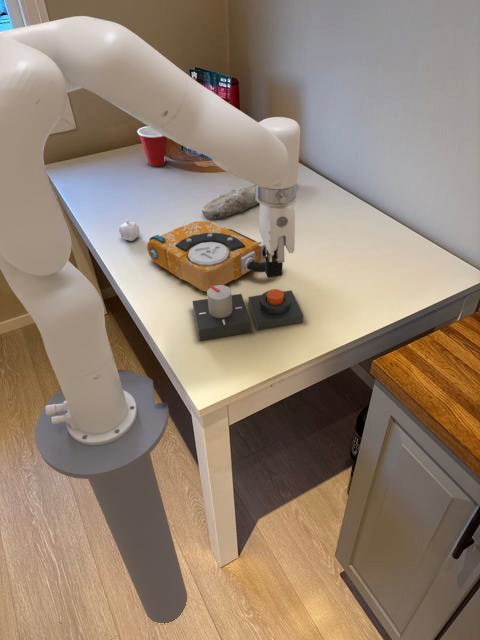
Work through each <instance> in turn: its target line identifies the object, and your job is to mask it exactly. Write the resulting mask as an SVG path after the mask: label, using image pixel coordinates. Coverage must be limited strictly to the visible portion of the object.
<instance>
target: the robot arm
mask: <svg viewBox="0 0 480 640" xmlns="http://www.w3.org/2000/svg"><path fill="white" fill-rule="evenodd" d="M81 89H84V90H87V91H89V92H91V93H93V94H95V95H97V96H98V97H100V98H101V99H104V100H105V101H107V102H109V103H110V104H112V105H114V106H115V107H117V108H118V109H120V110H122V111H123V112H125V113H127V114H128V115H130V116H132V117H133V118H135V119H136V120H138V121H139V122H142V123H143V124H145V125H146V126H149V127H151V128H153V129H154V130H156V131H157V132H159V133H161V134H162V135H164V136H166V137H167V139H169V140H171V141H173V142H175V143H176V144H179V145H180V146H183V147H184V148H187V149H188V150H191V151H194V152H196V153H199V154H201V155H204V156H206V157H208V158H210V159H212V162H213V163H214V164H215V165H216V166H217V167H219V168H220V169H221V170H222V171H225V172H227V173H229V174H231V175H234V176H236V177H238V178H240V179H242V180H245V181H246V182H248V183H251V184H252V185H256V201H257V202H258V204H259V209H258V210H259V212H258V213H259V214H258V215H259V216H258V226H259V234H260V237H261V240H262V242H264V244H265V251H266V256H268V257H265V259H264V262H265V272H264V273H265V276H266V277H267V278H269V279H270V278H275V277H277V278H278V277H282V276H283V263H285V248H286V250H287V252H288V254H293V253H294V252H295V245H296V243H295V242H296V241H295V240H296V239H295V238H296V237H295V236H296V235H295V234H296V233H295V232H296V224H295V223H296V221H295V205H294V203H295V202H296V201H297V198H298V197H297V194H298V193H297V192H298V181H299V179H298V178H299V163H300V162H299V161H300V147H301V127H300V125H299V123H298V122H297V121H296V120H295V119H294V118H293V119H292V118H289V117H285V116H272V117H267V118H264V119H263V120H260V121H257V120H255V119H254V118H252V117H251V116H249V115H248V114H246V113H244V111H241V110H240V109H238V108H237V107H235V106H234V105H233V104H230V103H229V102H228V101H226V100H224V99H223V98H222V97H220V96H219V95H218V94H216V93H215V92H213V91H212V90H211V89H208V88H207V87H205V86H204V85H202V84H201V83H199V82H198V81H197V80H195V79H194V78H193V77H191V76H190V75H189V74H187V73H186V72H185V71H183V70H182V69H181V68H179V67H178V66H176V65H175V64H174V63H173V62H172V61H170V60H169V59H168V58H167V57H166V56H164V55H163V54H162V53H160V52H159V51H158V50H157V49H155V48H154V47H152V45H150V44H149V43H148V42H146V41H145V40H144V39H143V38H141V37H140V36H138V35H137V33H135V32H133V31H131V29H129V28H127V27H126V26H124V25H122V24H120V23H118V22H115V21H110V20H106V19H101V18H97V17H92V16H87V15H77V16H76V15H75V16H70V17H65V18H61V19H56V20H50V21H46V22H41V23H37V24H36V23H35V24H31V25H27V26H21V27H15V28H11V29H6V30H2V31H0V271H1V273H2V275H3V277H4V279H5V281H6V282H7V284H8V286H9V287H10V289H11V291H12V292H13V294H14V296H16V297H17V299H18V300H19V301H20V303H21V304H22V306H23V308H24V309H25V310H26V312H27V313H28V314H29V316H30V317H31V318H32V320H33V322H34V324H35V326H36V327H37V329H38V331H39V334H40V337H41V339H42V342H43V346H44V350H45V353H46V356H47V358H48V360H49V363H50V365H51V368H52V370H53V371H54V374H55V377H56V380H57V382H58V384H59V387H60V390H61V389H62V392H63V394H64V397H65V399H66V401H64V403H62V404H53V405H47V406H46V405H45V406H46V407H45V406H44V407H45V411H46V415H47V416H51V415H57V414H60V413H65V415H62V416H54V417H52V418H51V421H52V424H59V423H63V422H66V426H67V429H68V432H69V433H70V435H71V437H72V438H73V439H74V440H76V441H78V442H79V443H82V444H85V445H102V444H107V443H110V442H112V441H114V440H116V439H118V438H120V437H121V436H123V435H124V434H125V433H126V432H127V431H128V430H129V429H130V428H131V427H132V425H133V424H134V422H135V420H136V416H137V406H136V403H135V400H134V398H133V397H132V396H131V395H130V394H129V393H128V392H126V391H124V390H123V388H122V385H121V381H120V378H119V374H118V371H117V370H118V368H117V364H116V361H115V357H114V354H113V350H112V346H111V344H110V339H109V336H108V333H107V328H106V320H105V307H104V303H103V300H102V297H101V296H100V294H99V292H98V290H97V289H96V287H95V286H94V285H93V284H92V282H91V281H90V280H89V279H88V278H87V277H86V276H85V275H84V274H83V273H82V272H81V271H80V270H79V269H78V268H77V267H76V266H74V264H73V263H72V262H70V260H69V259H70V257H71V253H72V237H71V233H70V230H69V227H68V224H67V222H66V220H65V217H64V215H63V213H62V211H61V208H60V205H59V203H58V200H57V198H56V195H55V192H54V190H53V187H52V185H51V181H50V179H49V175H48V172H47V168H46V165H45V161H44V150H45V146H46V142H47V140H48V138H49V136H50V134H51V133H52V131H53V129H54V128H55V127H56V125H57V123H58V122H59V121H60V119H61V118H62V116H63V115H64V112H65V109H66V106H67V102H68V93H71V92H73V91H77V90H81Z"/></svg>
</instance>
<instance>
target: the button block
mask: <svg viewBox="0 0 480 640" xmlns="http://www.w3.org/2000/svg"><path fill="white" fill-rule="evenodd" d="M268 291H269V290H267V291H264V292H263V293H262V294H259V295H252V296H248V306H249V309H250V312H251V315H252V318H253V320H254V321H253V322H254V323H255V327H256V329H257V330H265V329H272V328H278V327H283V326H290V325H297V324H302V323H303V322H304V314H303V311H302V309H301V307H300V304H299V303H298V301H297V298H296V296H295V294H294V293H293V290H291V289H290V290H285V291H284V290H281V291H282V292H283V293H284V301H283V303H282V304H280V305H271V304H269V303H268V302H267V292H268Z"/></svg>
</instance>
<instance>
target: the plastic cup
mask: <svg viewBox="0 0 480 640" xmlns="http://www.w3.org/2000/svg"><path fill="white" fill-rule="evenodd" d="M136 132H137V134H138V136H139V139H140V141H141V144H142V147H143V150H144V154H145V156H146V159H147V162H148V165H149V166H150V167H154V168H155V167H156V168H158V167H163V166H165V165H166V161H165V162H164V156H165V155H167V139H168V138H167V137H166V136H164V135H162V134H161V133H159V132H157V131H156V130H154V129H153V128H151V127H149V126H148V125H146V126H143V127H140V128H138V129H137V131H136Z"/></svg>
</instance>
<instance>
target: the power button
mask: <svg viewBox="0 0 480 640" xmlns="http://www.w3.org/2000/svg"><path fill="white" fill-rule="evenodd" d="M267 291H268V292H267ZM267 291H266V292H267V302H268V303H269V304H271V305H280V304H282V303H283V301H284V293H283V292H282V291H283V290H281V289H279V288H278V289H277V288H273V289H269V290H267Z"/></svg>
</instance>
